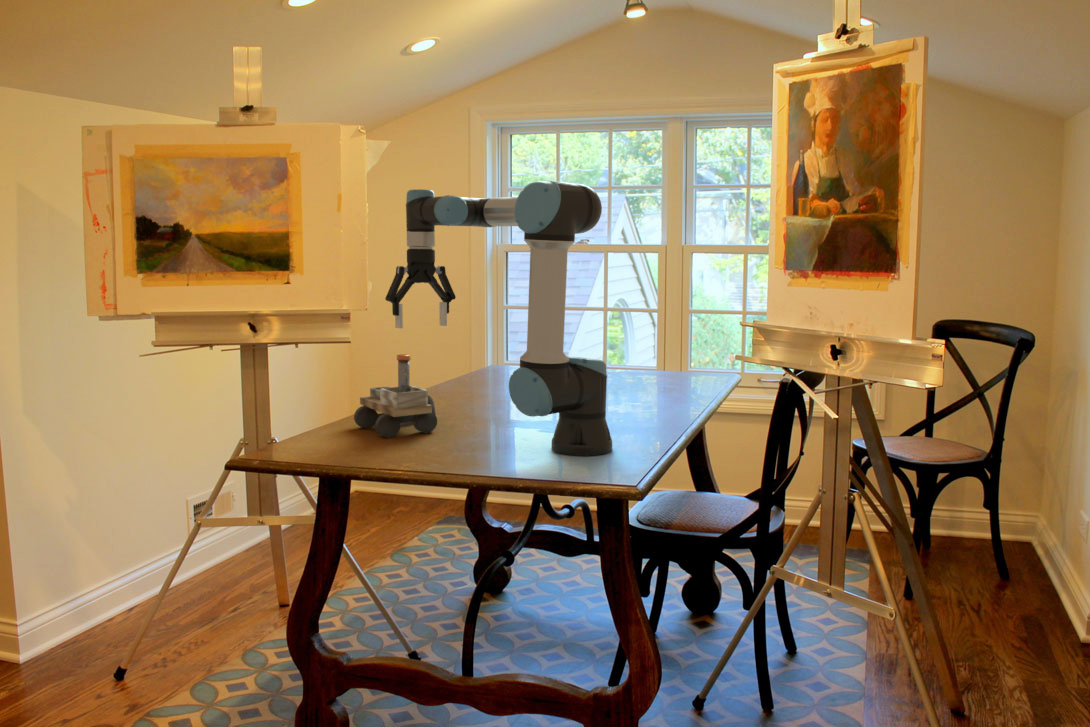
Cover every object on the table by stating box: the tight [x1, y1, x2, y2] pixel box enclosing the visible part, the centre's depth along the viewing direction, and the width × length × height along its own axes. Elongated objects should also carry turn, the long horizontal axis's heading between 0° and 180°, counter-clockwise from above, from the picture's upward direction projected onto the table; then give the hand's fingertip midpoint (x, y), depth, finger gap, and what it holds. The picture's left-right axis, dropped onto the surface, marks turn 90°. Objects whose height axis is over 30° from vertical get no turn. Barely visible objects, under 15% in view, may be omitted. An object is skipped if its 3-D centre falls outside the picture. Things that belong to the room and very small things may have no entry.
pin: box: [396, 353, 412, 393], centre depth 233 cm, size 4×4×13 cm
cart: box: [353, 385, 438, 439], centre depth 239 cm, size 22×17×12 cm
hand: (421, 326), depth 238 cm, fingers open, 13 cm apart
